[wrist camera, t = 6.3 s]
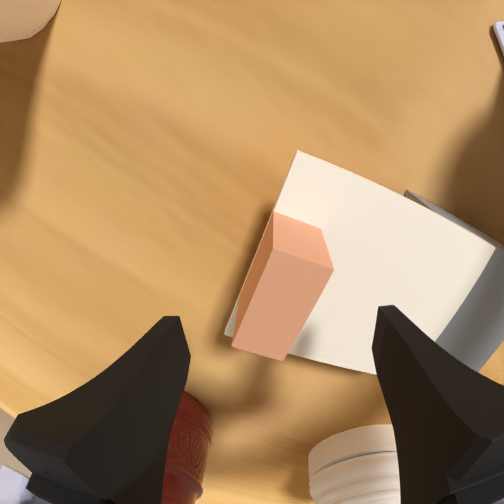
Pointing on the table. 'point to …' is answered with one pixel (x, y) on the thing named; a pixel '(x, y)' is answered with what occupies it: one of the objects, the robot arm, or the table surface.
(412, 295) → the carton lid
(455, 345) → the carton
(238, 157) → the table surface
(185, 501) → the canister
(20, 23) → the foam cup
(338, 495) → the honey pot
